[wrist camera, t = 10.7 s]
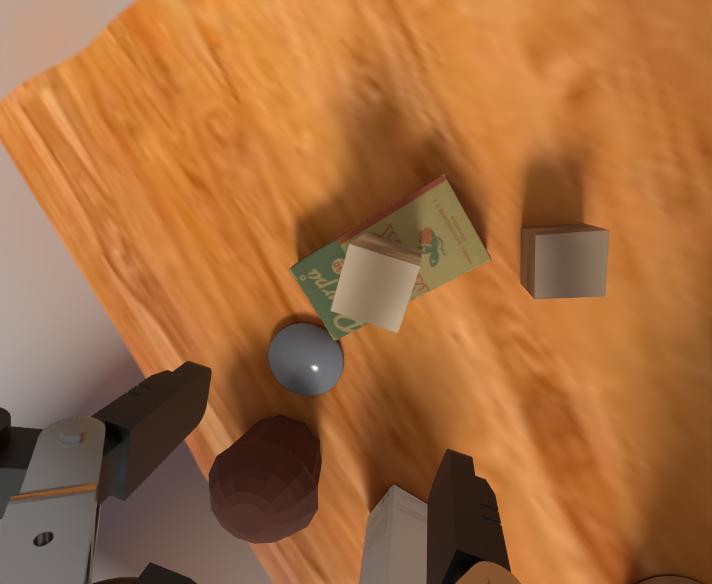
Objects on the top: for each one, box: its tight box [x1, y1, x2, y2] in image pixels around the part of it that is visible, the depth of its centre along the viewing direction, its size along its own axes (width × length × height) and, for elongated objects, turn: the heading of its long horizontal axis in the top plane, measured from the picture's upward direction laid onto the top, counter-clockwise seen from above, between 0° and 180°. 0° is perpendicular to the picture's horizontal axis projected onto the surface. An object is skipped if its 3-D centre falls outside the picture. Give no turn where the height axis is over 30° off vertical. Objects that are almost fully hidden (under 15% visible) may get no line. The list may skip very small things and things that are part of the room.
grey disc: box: [268, 322, 344, 396], centre depth 41 cm, size 8×8×1 cm
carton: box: [289, 174, 491, 340], centre depth 36 cm, size 8×16×4 cm, turn 122°
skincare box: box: [359, 484, 428, 584], centre depth 37 cm, size 8×6×15 cm
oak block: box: [331, 232, 422, 333], centre depth 30 cm, size 5×5×7 cm
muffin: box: [209, 415, 322, 544], centre depth 40 cm, size 12×11×10 cm
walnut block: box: [521, 224, 609, 299], centre depth 32 cm, size 5×5×5 cm
